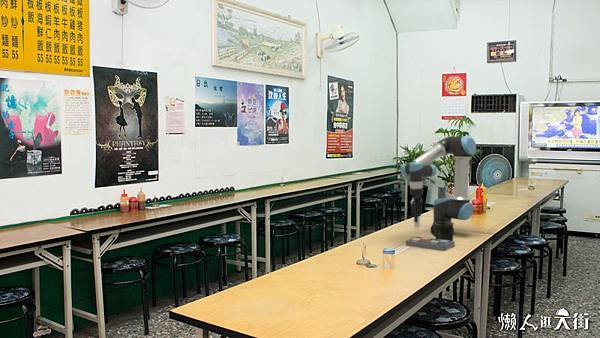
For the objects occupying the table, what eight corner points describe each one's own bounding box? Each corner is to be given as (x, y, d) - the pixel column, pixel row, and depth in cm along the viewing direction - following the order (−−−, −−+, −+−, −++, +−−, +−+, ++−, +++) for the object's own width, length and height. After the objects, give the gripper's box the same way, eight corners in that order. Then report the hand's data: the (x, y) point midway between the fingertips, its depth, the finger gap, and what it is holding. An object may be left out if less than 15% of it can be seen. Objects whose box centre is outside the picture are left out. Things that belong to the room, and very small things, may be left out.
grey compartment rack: (417, 242, 320) (417, 236, 320) (454, 247, 305) (454, 241, 304) (406, 247, 310) (406, 240, 309) (444, 252, 294) (444, 245, 294)
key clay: (423, 241, 312) (423, 237, 312) (430, 242, 309) (430, 238, 309) (420, 242, 309) (420, 238, 308) (427, 243, 306) (427, 239, 306)
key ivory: (415, 241, 316) (415, 237, 316) (421, 242, 313) (421, 238, 313) (411, 243, 312) (411, 239, 312) (418, 244, 310) (418, 240, 309)
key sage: (432, 244, 308) (432, 240, 308) (439, 245, 305) (439, 241, 305) (429, 245, 305) (429, 241, 305) (436, 246, 302) (436, 242, 302)
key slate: (442, 243, 304) (442, 239, 304) (449, 244, 302) (449, 240, 301) (438, 245, 301) (438, 240, 301) (445, 245, 298) (445, 241, 298)
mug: (448, 245, 313) (448, 225, 312) (426, 241, 323) (426, 222, 322) (456, 241, 321) (456, 222, 320) (435, 239, 330) (435, 220, 330)
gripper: (415, 186, 317) (416, 224, 319) (405, 189, 308) (406, 228, 310) (427, 187, 313) (427, 225, 315) (416, 189, 303) (417, 229, 305)
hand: (416, 227), depth 312 cm, fingers closed
